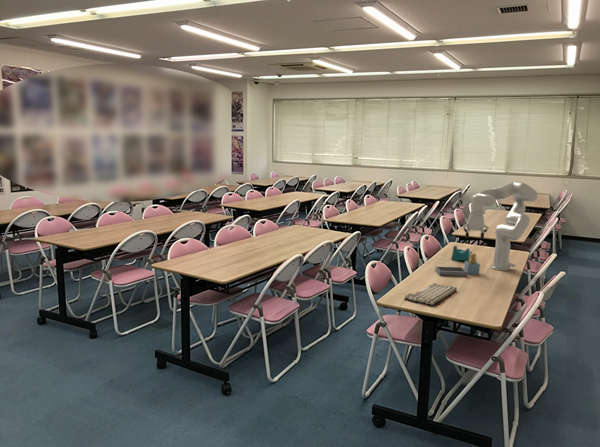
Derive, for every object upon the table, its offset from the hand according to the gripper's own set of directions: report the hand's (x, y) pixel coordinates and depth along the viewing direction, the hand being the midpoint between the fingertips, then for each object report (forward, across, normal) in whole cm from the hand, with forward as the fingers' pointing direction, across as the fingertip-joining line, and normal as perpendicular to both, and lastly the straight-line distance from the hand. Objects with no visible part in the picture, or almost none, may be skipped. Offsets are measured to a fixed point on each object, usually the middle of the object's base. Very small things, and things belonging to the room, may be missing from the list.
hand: (474, 238), depth 315 cm
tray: (+24, +15, +4) cm, 28 cm away
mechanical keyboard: (+25, +39, +51) cm, 69 cm away
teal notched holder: (+24, -5, -39) cm, 46 cm away
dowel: (+24, 0, 0) cm, 24 cm away
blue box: (+24, 0, 0) cm, 24 cm away
